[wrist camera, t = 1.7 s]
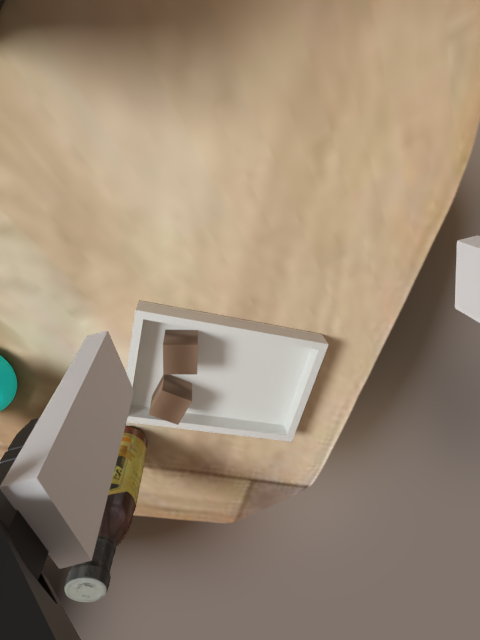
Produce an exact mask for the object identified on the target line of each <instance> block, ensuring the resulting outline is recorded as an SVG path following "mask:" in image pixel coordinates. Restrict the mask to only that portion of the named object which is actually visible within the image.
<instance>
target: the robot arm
mask: <svg viewBox="0 0 480 640" xmlns="http://www.w3.org/2000/svg"><path fill="white" fill-rule="evenodd" d="M3 3H4V0H0V10H1V7H2V5H3ZM455 308H456V309H458V310H459V311H461V312H462V313H464V314H466V315H467V316H469V317H471V318H473V319H474V320H476V321H478V322H479V323H480V236H474V237H471V238H467V239H462V240H458V241H457V261H456V291H455ZM133 394H134V390H133V387H132V385H131V383H130V380H129V378H128V376H127V374H126V371H125V369H124V367H123V364H122V362H121V360H120V358H119V355H118V353H117V351H116V348H115V346H114V344H113V342H112V339H111V337H110V335H109V332H108V331H105V332H101V333H97V334H93V335H89V336H87V337H86V339H85V341H84V342H83V344H82V346H81V348H80V349H79V351H78V353H77V354H76V356H75V358H74V360H73V361H72V363H71V365H70V367H69V368H68V370H67V372H66V373H65V375H64V377H63V379H62V380H61V382H60V384H59V385H58V387H57V389H56V391H55V392H54V394H53V396H52V398H51V399H50V401H49V403H48V404H47V406H46V408H45V410H44V411H43V413H42V415H41V416H40V418H38V419H34V420H31V421H30V422H29V423H28V424H27V425H26V426H25V427H24V428H23V429H22V430H21V431H20V432H19V433H18V434H17V435H16V436H15V438H14V440H13V441H12V443H11V444H10V446H9V448H8V451H7V452H5V454H4V456H3V457H2V459H1V460H0V640H81V639H80V638H79V636H78V634H77V632H76V630H75V628H74V627H73V625H72V623H71V621H70V619H69V617H68V616H67V614H66V612H65V610H64V608H63V607H62V605H61V603H60V601H59V599H58V597H57V596H56V594H55V592H54V590H53V588H52V587H51V585H50V583H49V581H48V580H47V578H46V577H45V576H44V574H43V573H42V569H43V566H44V563H45V561H46V558H47V555H48V554H49V556H50V557H51V558H52V560H53V561H54V562H55V563H56V565H57V566H58V568H59V569H61V568H65V567H69V566H73V565H77V564H80V563H84V562H88V561H92V557H93V553H94V549H95V545H96V541H97V537H98V533H99V529H100V525H101V521H102V517H103V513H104V509H105V505H106V501H107V497H108V494H109V490H110V486H111V482H112V478H113V474H114V470H115V466H116V462H117V458H118V454H119V450H120V446H121V442H122V438H123V434H124V430H125V426H126V422H127V418H128V414H129V410H130V406H131V402H132V398H133Z"/></svg>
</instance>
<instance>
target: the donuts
mask: <svg viewBox="0 0 480 640" xmlns="http://www.w3.org/2000/svg"><path fill="white" fill-rule="evenodd" d="M16 391H17V378H16V374H15V372H14V370H13V368H12V367H11V365H10V364H9V363H8V362H7V361H6V360H5V359H4V358H3V357H2V356H1V355H0V411H2V410H3V409H5V408H6V407H7V406H8V405H9V404H10V403H11V402H12V400H13V399H14V397H15V394H16Z"/></svg>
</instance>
